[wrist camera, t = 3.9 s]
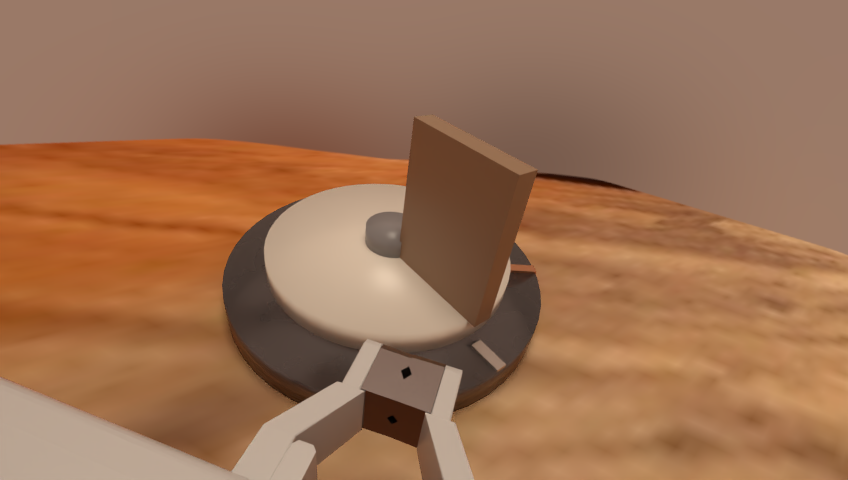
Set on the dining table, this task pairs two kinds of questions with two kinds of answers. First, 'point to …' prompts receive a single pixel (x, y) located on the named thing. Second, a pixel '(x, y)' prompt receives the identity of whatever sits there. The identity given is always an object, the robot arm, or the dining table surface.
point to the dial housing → (329, 362)
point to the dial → (404, 246)
